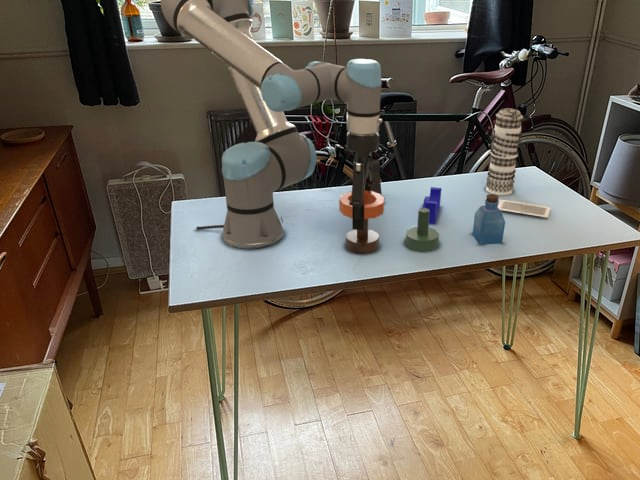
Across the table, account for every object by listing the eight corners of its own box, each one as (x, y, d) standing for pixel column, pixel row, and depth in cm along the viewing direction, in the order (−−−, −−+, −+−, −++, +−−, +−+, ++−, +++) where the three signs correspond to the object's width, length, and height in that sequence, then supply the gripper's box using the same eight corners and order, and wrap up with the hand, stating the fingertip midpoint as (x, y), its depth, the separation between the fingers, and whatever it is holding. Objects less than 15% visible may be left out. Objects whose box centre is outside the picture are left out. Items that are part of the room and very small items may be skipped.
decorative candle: (516, 187, 187) (529, 108, 174) (510, 197, 180) (522, 115, 167) (489, 182, 190) (499, 104, 177) (481, 192, 183) (491, 111, 170)
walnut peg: (343, 252, 146) (342, 217, 141) (349, 237, 153) (348, 204, 148) (376, 255, 145) (377, 220, 140) (380, 240, 152) (381, 206, 147)
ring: (336, 217, 140) (336, 205, 138) (344, 199, 149) (344, 188, 147) (380, 221, 139) (381, 209, 137) (386, 203, 148) (386, 192, 146)
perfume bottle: (502, 243, 152) (508, 200, 146) (479, 244, 152) (484, 201, 145) (494, 233, 158) (500, 191, 151) (472, 234, 157) (477, 192, 151)
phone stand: (354, 194, 178) (354, 156, 172) (372, 192, 180) (373, 155, 174) (363, 205, 171) (363, 166, 165) (382, 203, 173) (383, 164, 167)
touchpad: (499, 202, 176) (500, 195, 175) (550, 210, 172) (551, 203, 171) (494, 212, 170) (495, 205, 168) (547, 220, 165) (548, 213, 164)
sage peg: (404, 250, 148) (406, 215, 143) (407, 235, 155) (408, 202, 150) (437, 252, 147) (440, 218, 142) (438, 238, 154) (441, 204, 149)
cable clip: (424, 205, 172) (426, 186, 169) (439, 207, 172) (441, 188, 169) (418, 222, 162) (419, 202, 159) (434, 223, 162) (436, 203, 159)
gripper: (372, 149, 123) (370, 241, 135) (385, 119, 143) (382, 202, 155) (337, 146, 124) (338, 238, 136) (355, 117, 144) (354, 199, 155)
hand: (361, 219), depth 145 cm, fingers closed on ring, 11 cm apart
